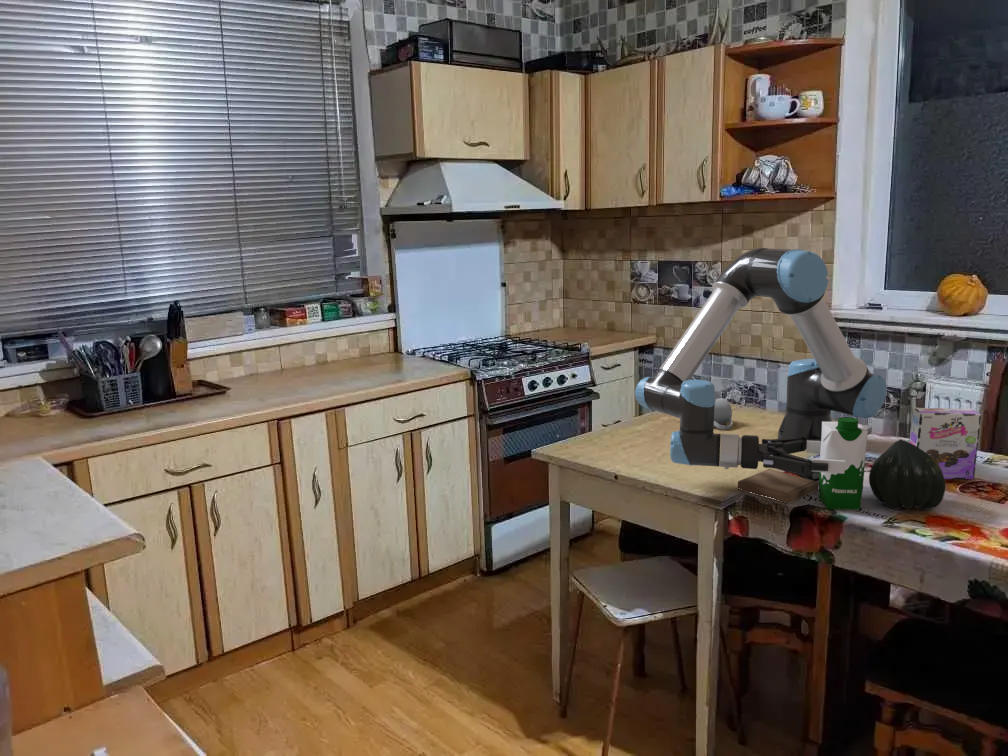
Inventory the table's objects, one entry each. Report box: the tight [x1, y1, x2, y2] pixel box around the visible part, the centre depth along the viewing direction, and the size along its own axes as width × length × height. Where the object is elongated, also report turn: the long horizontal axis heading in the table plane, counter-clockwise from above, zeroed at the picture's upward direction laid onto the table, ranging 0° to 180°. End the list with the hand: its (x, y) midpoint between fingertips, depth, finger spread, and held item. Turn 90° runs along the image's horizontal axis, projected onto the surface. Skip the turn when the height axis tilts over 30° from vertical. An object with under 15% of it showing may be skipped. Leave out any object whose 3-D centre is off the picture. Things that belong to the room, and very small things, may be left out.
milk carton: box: [818, 416, 869, 510], centre depth 183 cm, size 9×9×20 cm
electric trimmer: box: [795, 472, 819, 482], centre depth 206 cm, size 4×16×3 cm, turn 24°
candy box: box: [908, 407, 982, 480], centre depth 200 cm, size 14×6×16 cm, turn 82°
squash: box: [868, 438, 946, 510], centre depth 183 cm, size 14×15×15 cm
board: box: [737, 468, 819, 505], centre depth 194 cm, size 13×13×2 cm
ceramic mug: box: [714, 397, 733, 431], centre depth 247 cm, size 11×8×8 cm
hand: (840, 457), depth 182 cm, fingers open, 13 cm apart
